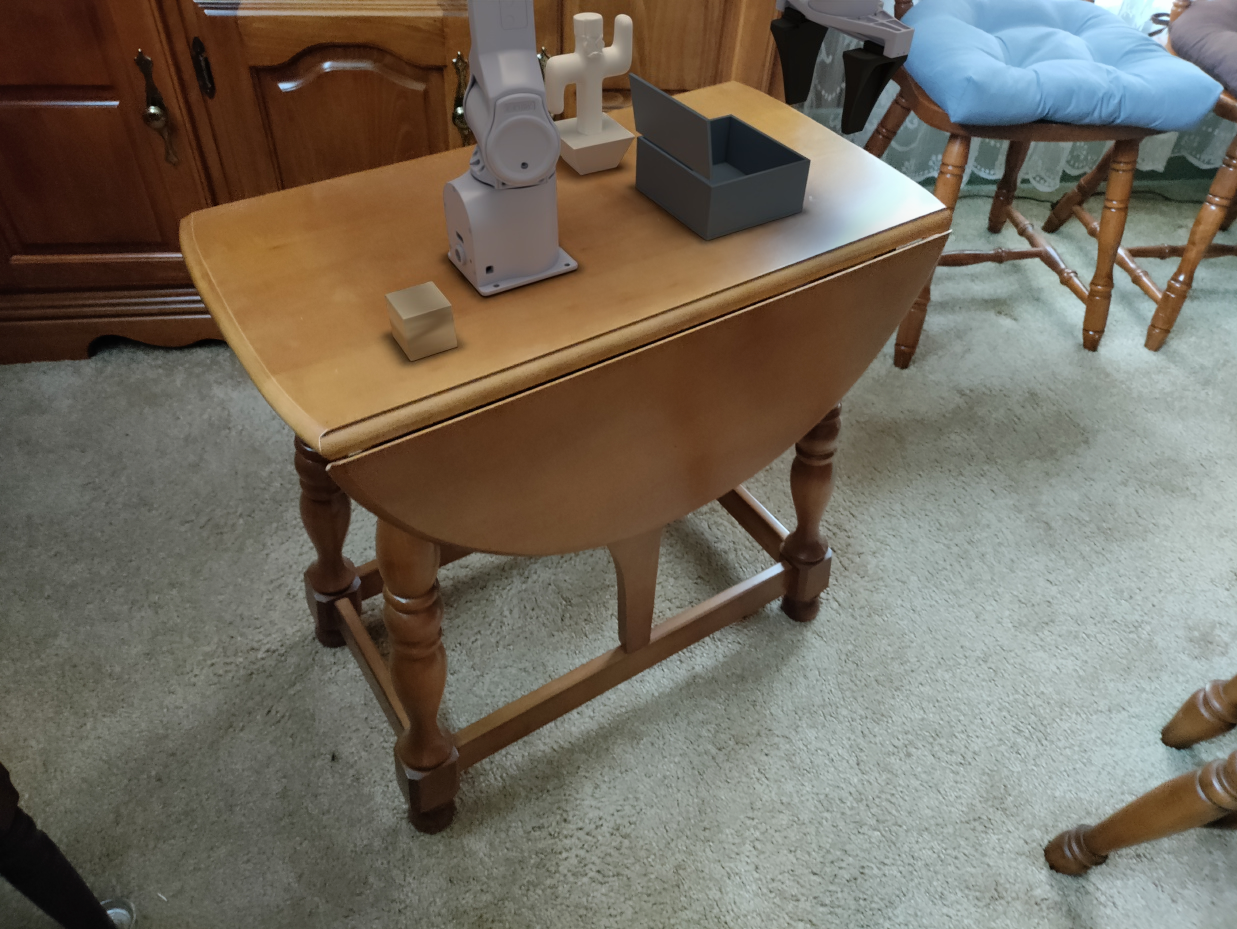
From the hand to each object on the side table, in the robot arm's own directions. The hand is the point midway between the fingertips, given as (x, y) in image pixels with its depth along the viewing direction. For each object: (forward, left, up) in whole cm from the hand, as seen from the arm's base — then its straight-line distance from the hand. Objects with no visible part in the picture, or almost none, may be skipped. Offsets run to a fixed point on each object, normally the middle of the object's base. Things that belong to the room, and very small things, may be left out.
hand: (823, 116), depth 78 cm
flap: (-11, +8, -1) cm, 14 cm away
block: (-40, 0, -10) cm, 41 cm away
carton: (-5, +8, -10) cm, 14 cm away
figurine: (-12, +22, -10) cm, 27 cm away
